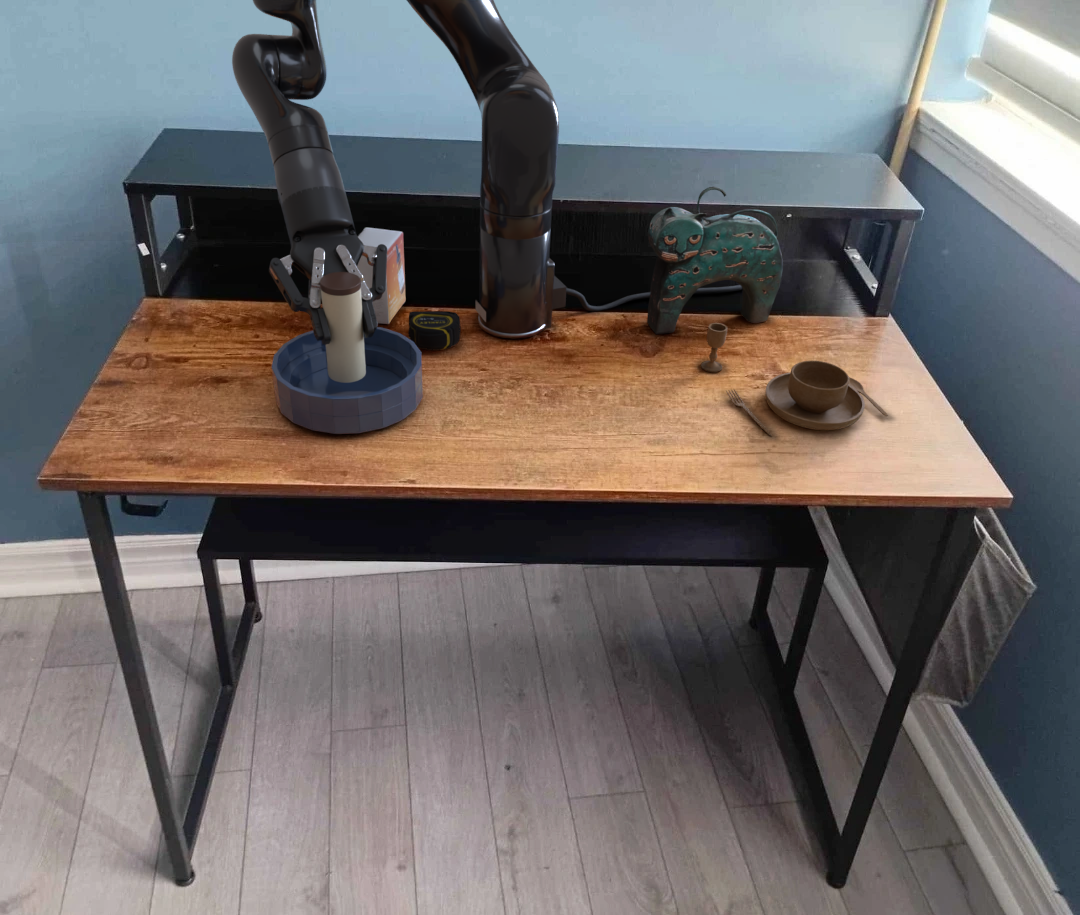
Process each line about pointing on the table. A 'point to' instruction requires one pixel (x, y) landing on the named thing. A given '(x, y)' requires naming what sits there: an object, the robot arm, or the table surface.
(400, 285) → the small box
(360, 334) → the tube
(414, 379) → the bowl
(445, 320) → the tape measure
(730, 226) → the ceramic cat
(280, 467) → the table surface
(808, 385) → the place setting
